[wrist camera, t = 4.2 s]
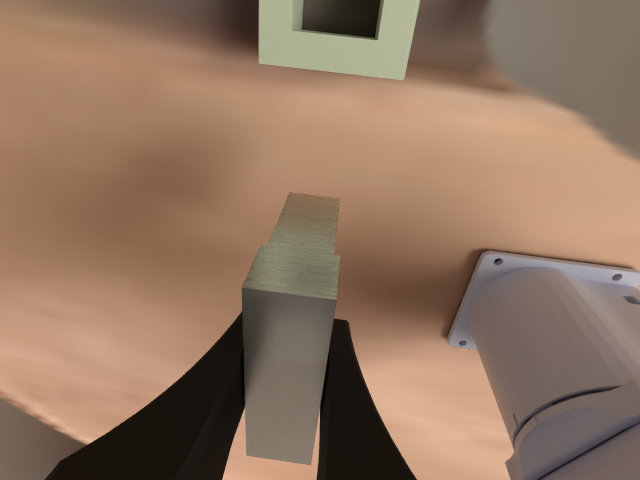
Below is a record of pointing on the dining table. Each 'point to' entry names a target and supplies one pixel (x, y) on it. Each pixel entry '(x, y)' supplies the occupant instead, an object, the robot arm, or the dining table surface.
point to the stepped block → (289, 329)
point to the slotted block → (337, 41)
